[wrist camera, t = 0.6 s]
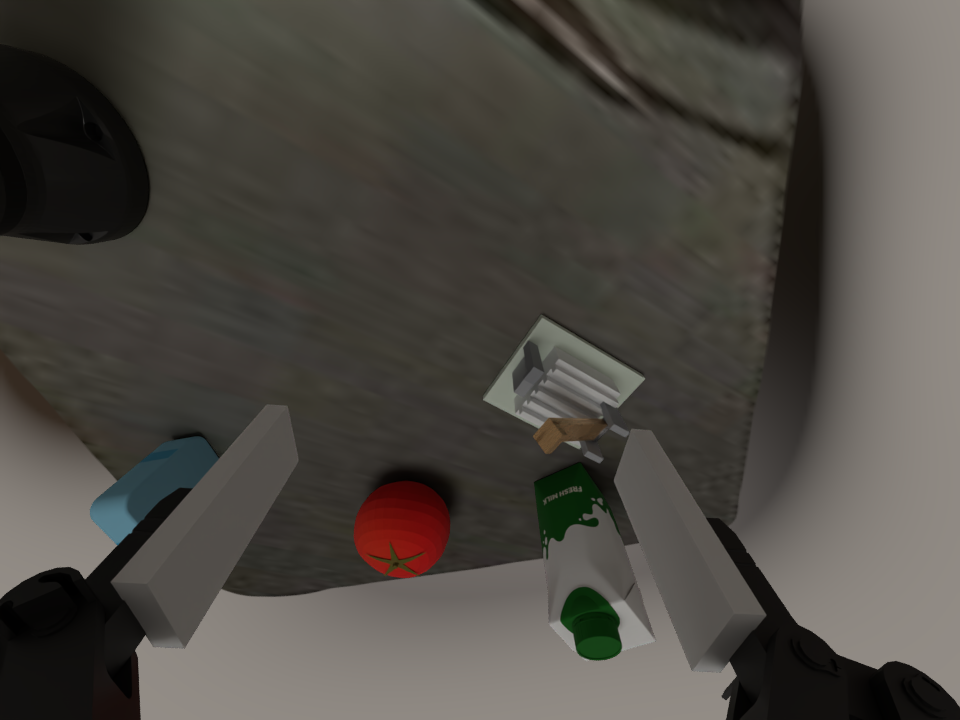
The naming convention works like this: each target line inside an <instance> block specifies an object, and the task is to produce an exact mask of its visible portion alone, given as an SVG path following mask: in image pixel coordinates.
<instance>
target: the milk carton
mask: <svg viewBox="0 0 960 720" xmlns="http://www.w3.org/2000/svg"><path fill="white" fill-rule="evenodd" d="M534 486H535V495H536V504H537V512H538V520H539V528H540V536H541V543H542V551H543V558H544V566H545V573H546V581H547V588H548V614H549V625H550V626H551V627H552V628H553V630H554V631H555V632H556V633H557V634H558V635H559V636H560V637H561V638H562V639H563V640H564V641H565V642H566V643H567V644H568V646H569V647H570V648H571V649H572V650H573V651H576V652H577V653H578V654H579V655H580V656H581V657H582V658H583V659H584V660H585V661H588V660H606V659H610V658H613V657H615V656H617V655H618V654H619V653H620V652H621V651H624V650H627V649H631V648H634V647H638V646H641V645H645V644H648V643H652V642H656V639H655V636H654V633H653V631H652V628H651V625H650V622H649V619H648V616H647V613H646V610H645V607H644V604H643V599H642V595H641V592H640V589H639V588H638V585H637V582H636V579H635V576H634V572H633V570H632V567H631V564H630V561H629V558H628V555H627V552H626V550H625V547H624V544H623V541H622V538H621V535H620V532H619V530H618V527H617V524H616V521H615V519H614V516H613V513H612V511H611V509H610V507H609V505H608V504H607V502H606V500H605V498H604V496H603V494H602V493H601V492H600V490H599V489H598V487H597V486H596V484H595V483H594V481H593V480H592V479H591V477H590V476H589V474H588V473H587V471H586V470H585V468H584V467H583V466H582V464H581V463H580V462H579V463H577V464H575V465H572V466H570V467H568V468H566V469H563V470H561V471H559V472H557V473H554V474H552V475H550V476H548V477H545V478H543V479H541V480H538V481H536V482H534Z"/></svg>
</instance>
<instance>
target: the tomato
mask: <svg viewBox="0 0 960 720" xmlns="http://www.w3.org/2000/svg"><path fill="white" fill-rule="evenodd" d="M449 533H450V517H449V512H448V509H447V507H446V505H445V502H444V500H443V499H442V498H441V497H440V496H439V495H438V494H437V493H436V492H435V491H434V490H433V489H432V488H430V487H428V486H426V485H424V484H421V483H418V482H413V481H398V482H394V483H389V484H386V485H383V486H381V487H379V488H378V489H376V490H375V491H374V492H373V493H371V494H370V495H369V497H368V498H367V499H366V500H365V502H364V503H363V504H362V506H361V508H360V510H359V512H358V514H357V516H356V521H355V527H354V541H355V545H356V548H357V550H358V552H359V554H360V556H361V557H362V558H363V559H364V560H365V561H366V562H367V563H368V564H369V565H370V566H372V567H373V568H374V569H376V570H377V571H379V572H381V573H383V574H385V575H384V576H386V575H389V576H393V577H398V578H410V577H414V576H417V575H418V576H419V574H421V573H423V572H426V571H427V570H428V569H429V568H431V567H432V566H433V565H434V564H435V563H436V562H437V561H438V560H439V558H440V557H441V555H442V554H443V552H444V549H445V546H446V544H447V541H448V538H449ZM420 577H421V576H420Z"/></svg>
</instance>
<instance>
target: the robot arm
mask: <svg viewBox="0 0 960 720" xmlns="http://www.w3.org/2000/svg"><path fill="white" fill-rule="evenodd" d="M147 202H148V179H147V173H146V168H145V165H144V161H143V158H142V155H141V153H140V150H139V148H138V146H137V143H136V141H135V139H134V137H133V135H132V134H131V132H130V130H129V128H128V127H127V125H126V124H125V122H124V121H123V119H122V118H121V116H120V115H119V114H118V112H117V111H116V110H115V109H114V107H113V106H112V105H111V104H110V103H109V101H108V100H107V99H106V98H105V97H104V96H103V95H102V94H101V93H100V92H99V91H98V90H97V89H96V88H95V87H94V86H93V85H91V84H90V83H89V82H88V81H87V80H85V79H84V78H83V77H82V76H80V75H79V74H77V73H76V72H75V71H73V70H72V69H70V68H68V67H67V66H65V65H63V64H61V63H60V62H58V61H56V60H53V59H51V58H49V57H46V56H44V55H41V54H38V53H34V52H30V51H26V50H22V49H18V48H14V47H11V46H6V45H2V44H0V236H10V237H17V238H25V239H33V240H41V241H49V242H57V243H65V244H76V245H81V244H94V243H99V242H104V241H110V240H115V239H118V238H121V237H123V236H125V235H127V234H128V233H130V232H131V231H132V230H133V229H135V227H136V226H137V225H138V224H139V223H140V221H141V219H142V218H143V215H144V213H145V210H146V207H147ZM298 461H299V460H298V455H297V450H296V445H295V440H294V435H293V430H292V425H291V420H290V415H289V410H288V406H282V405H266V406H265V407H264V408H263V410H262V411H261V412H260V413H259V414H258V415H257V416H256V417H255V419H254V420H253V421H252V422H251V423H250V424H249V425H248V427H247V428H246V429H245V430H244V431H243V432H242V433H241V435H240V436H239V437H238V438H237V439H236V440H235V441H234V442H233V444H232V445H231V446H230V447H229V448H228V449H227V450H226V452H225V453H224V454H223V455H222V456H221V457H220V458H219V460H218V461H217V462H216V463H215V464H214V465H213V466H212V467H211V469H210V470H209V471H208V472H207V473H206V474H205V475H204V477H203V478H202V479H201V480H200V481H199V482H198V483H197V485H196V486H195V487H194V488H178V489H177V490H175V491H174V492H172V493H171V494H169V495H168V496H166V497H165V498H163V499H162V500H160V501H159V502H158V503H157V504H156V505H155V506H154V507H153V508H152V510H151V511H150V512H149V513H148V514H147V515H146V516H145V518H144V520H141V521H140V522H139V523H138V524H137V525H136V526H135V528H134V529H133V530H132V533H131V534H130V533H129V534H128V535H127V536H126V537H125V538H124V539H123V540H122V541H121V542H120V543H119V544H118V545H117V547H116V548H115V549H114V550H113V551H112V552H111V553H110V554H109V555H108V556H107V557H106V558H105V559H104V560H103V561H102V562H101V564H100V565H99V566H98V567H97V568H96V569H95V570H94V571H93V572H92V573H91V574H90V575H89V576H88V577H87V578H86V579H84V578H83V577H82V575H81V574H80V572H79V571H78V570H75V569H73V568H71V567H62V568H54V569H51V570H48V571H44V572H41V573H39V574H37V575H35V576H33V577H31V578H29V579H27V580H25V581H23V582H21V583H20V584H19V585H17V586H16V587H14V588H13V589H12V590H10V591H9V592H8V593H6V594H5V595H4V596H3V597H2V598H1V599H0V720H141V718H140V696H139V674H138V657H137V654H136V652H135V649H136V648H137V646H138V645H139V643H140V642H141V641H142V639H143V637H144V636H145V635H146V636H147V638H148V639H149V641H150V642H151V644H152V645H153V647H165V648H185V647H186V645H187V644H188V642H189V640H190V639H191V637H192V635H193V634H194V632H195V630H196V629H197V627H198V626H199V624H200V622H201V621H202V619H203V617H204V616H205V614H206V612H207V611H208V609H209V607H210V606H211V604H212V603H213V601H214V599H215V598H216V596H217V594H218V593H219V591H220V589H221V588H222V586H223V585H224V583H225V581H226V580H227V578H228V576H229V575H230V573H231V571H232V570H233V568H234V566H235V565H236V563H237V562H238V560H239V558H240V557H241V555H242V553H243V552H244V550H245V548H246V547H247V545H248V543H249V542H250V540H251V539H252V537H253V535H254V534H255V532H256V530H257V529H258V527H259V525H260V524H261V522H262V520H263V519H264V517H265V516H266V514H267V512H268V511H269V509H270V507H271V506H272V504H273V502H274V501H275V499H276V498H277V496H278V494H279V493H280V491H281V489H282V488H283V486H284V484H285V483H286V481H287V479H288V478H289V476H290V475H291V473H292V471H293V470H294V468H295V466H296V465H297V463H298ZM614 483H615V485H616V487H617V490H618V492H619V495H620V497H621V500H622V502H623V504H624V507H625V509H626V512H627V514H628V517H629V519H630V521H631V524H632V526H633V529H634V531H635V534H636V536H637V538H638V541H639V543H640V546H641V548H642V551H643V553H644V555H645V558H646V560H647V563H648V565H649V568H650V570H651V572H652V575H653V577H654V580H655V582H656V584H657V587H658V589H659V592H660V594H661V597H662V599H663V602H664V604H665V607H666V609H667V611H668V614H669V616H670V618H671V621H672V623H673V626H674V628H675V631H676V633H677V636H678V638H679V641H680V643H681V645H682V648H683V650H684V653H685V655H686V658H687V660H688V662H689V664H690V667H691V670H692V671H699V672H721V671H722V670H723V668H724V667H725V666H726V665H727V663H728V662H729V661H730V663H731V665H732V667H733V669H734V671H735V673H736V675H737V677H736V678H735V679H734V680H733V681H732V683H731V684H730V685H729V686H728V687H727V688H726V690H725V691H724V693H723V695H722V698H724V699H725V700H727V699H728V698H729V697H730V696H731V697H730V702H729V708H728V713H727V718H726V720H960V707H959V706H958V705H957V703H956V701H955V700H954V699H953V698H952V697H951V696H950V695H949V694H948V693H947V692H946V691H945V690H944V689H943V688H942V687H941V686H940V685H939V684H938V683H936V682H935V681H934V680H932V679H931V678H930V677H929V676H927V675H926V674H925V673H923V672H921V671H919V670H917V669H916V668H914V667H912V666H910V665H907V664H904V663H901V662H897V661H894V662H887V663H886V664H884V665H883V666H882V667H881V668H880V669H878V670H877V669H875V668H872V667H869V666H866V665H864V664H861V663H858V662H856V661H853V660H850V659H847V658H845V657H842V656H840V655H838V654H836V653H835V652H834V651H833V650H832V649H831V648H830V647H829V646H828V644H827V643H826V642H825V641H823V640H822V639H821V638H820V637H818V636H817V635H816V634H814V633H813V632H811V631H810V630H807V629H805V628H803V627H801V626H799V625H798V624H797V623H796V622H795V620H794V619H793V618H792V616H791V615H790V613H789V612H788V611H787V609H786V607H785V606H784V604H783V603H782V602H781V600H780V599H779V597H778V596H777V594H776V593H775V591H774V590H773V588H772V587H771V585H770V584H769V582H768V581H767V580H766V578H765V576H764V575H763V574H762V572H761V571H760V569H759V568H758V567H756V565H755V562H754V560H753V559H752V557H751V556H750V554H749V553H747V552H746V549H745V547H744V546H743V544H742V543H741V541H740V540H739V538H738V537H737V535H736V534H735V533H734V532H733V531H732V530H731V529H730V528H729V527H728V526H727V525H726V524H724V523H723V522H722V521H721V520H720V519H718V518H705V516H704V514H703V513H702V511H701V510H700V508H699V506H698V505H697V503H696V502H695V500H694V498H693V497H692V495H691V494H690V492H689V490H688V489H687V487H686V486H685V484H684V482H683V481H682V479H681V478H680V476H679V474H678V473H677V471H676V470H675V468H674V466H673V465H672V463H671V462H670V460H669V458H668V457H667V455H666V454H665V452H664V450H663V449H662V447H661V446H660V444H659V442H658V441H657V439H656V438H655V436H654V434H653V433H652V431H651V430H639V429H631V432H630V435H629V438H628V441H627V443H626V446H625V449H624V452H623V455H622V458H621V461H620V464H619V467H618V469H617V472H616V475H615V478H614Z"/></svg>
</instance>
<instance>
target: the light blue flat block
mask: <svg viewBox="0 0 960 720" xmlns="http://www.w3.org/2000/svg"><path fill="white" fill-rule="evenodd" d="M218 460H219V458H218V456H217V455H216V453H215V452H214V451H213V449H212V448H211V446H210V445H209V444H208V442H207V441H206V440H205V439H204V438H203V437H200V436H195V437H189V438H183V439H178V440H172V441H167V442H165V443H163V444H161V445H160V446H159V447H158V448H157V449H155V450H154V451H153V452H152V453H151V454H149V455H148V456H147V457H146V458H145V459H143V460H142V461H141V462H140V463H139V464H137V465H136V466H135V467H134V468H133V469H131V470H130V471H129V472H128V473H127V474H125V475H124V476H123V477H122V478H121V479H119V480H118V481H117V482H116V483H115V484H113V485H112V486H111V487H110V488H109V489H107V490H106V491H105V492H104V493H103V494H101V495H100V496H99V497H98V498H97V499H96V500H95V501H94V502H93V504H92V506H91V509H90V516H91V519H92V520H93V521H94V522H95V523H96V524H97V525H98V526H99V527H100V528H101V529H102V530H103V531H104V532H105V533H106V534H107V535H108V536H109V537H110V538H111V539H112V540H113V541H114V542H115V543H116V544H117V545H118V544H119V543H120V542H121V541H122V540H123V539H124V538H125V537H126V536H127V535H128V534H129V533H130V534H131V533H132V530H133V529H134V528H135V526H136V525H137V524H138V523H139V522H140V521H141V520H144V518H145V516H146V515H147V514H148V513H149V512H150V511H151V510H152V508H153V507H154V506H155V505H156V504H157V503H158V502H159V501H160V500H162V499H163V498H165V497H166V496H168V495H169V494H171V493H172V492H174V491H175V490H177V489H178V488H194V487H195V486H196V485H197V483H198V482H199V481H200V480H201V479H202V478H203V477H204V475H205V474H206V473H207V472H208V471H209V470H210V469H211V467H212V466H213V465H214V464H215V463H216V462H217V461H218Z"/></svg>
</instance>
